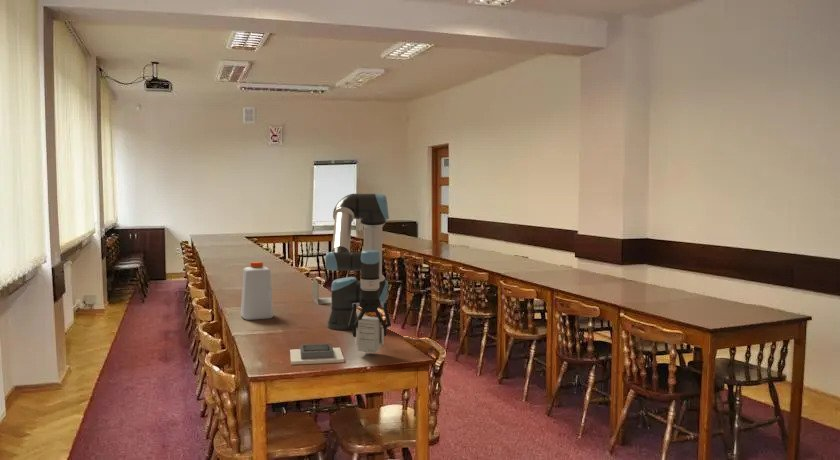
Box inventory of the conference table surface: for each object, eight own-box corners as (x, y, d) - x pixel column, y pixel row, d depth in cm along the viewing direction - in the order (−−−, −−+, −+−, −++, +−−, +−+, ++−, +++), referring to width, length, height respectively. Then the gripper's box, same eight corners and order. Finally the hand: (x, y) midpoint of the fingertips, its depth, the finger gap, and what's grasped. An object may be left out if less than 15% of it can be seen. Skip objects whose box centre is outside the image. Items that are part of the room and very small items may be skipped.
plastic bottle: (244, 321, 320) (243, 264, 318) (239, 315, 334) (239, 261, 332) (274, 318, 326) (274, 263, 324) (269, 313, 340) (268, 260, 338)
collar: (299, 350, 260) (299, 344, 260) (331, 349, 263) (331, 343, 263) (301, 359, 248) (301, 352, 248) (333, 357, 251) (333, 351, 251)
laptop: (339, 303, 370) (339, 281, 369) (317, 304, 366) (317, 281, 365) (333, 298, 387) (333, 276, 386) (312, 299, 383) (312, 277, 383)
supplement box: (364, 346, 265) (364, 315, 264) (381, 348, 263) (381, 317, 262) (357, 351, 258) (357, 319, 257) (374, 352, 256) (375, 321, 255)
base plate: (290, 352, 262) (290, 349, 262) (339, 350, 266) (339, 347, 266) (291, 364, 245) (291, 361, 244) (344, 362, 249) (344, 359, 249)
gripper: (342, 291, 252) (342, 347, 254) (399, 290, 257) (398, 345, 259) (341, 288, 259) (340, 343, 261) (395, 286, 264) (395, 340, 266)
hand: (369, 344), depth 260 cm, fingers closed on supplement box, 10 cm apart
